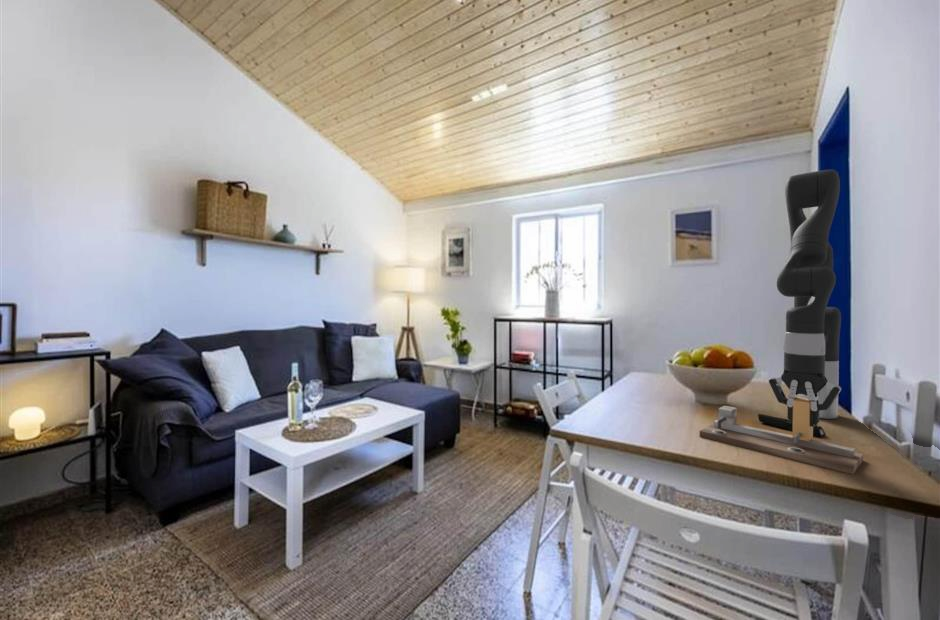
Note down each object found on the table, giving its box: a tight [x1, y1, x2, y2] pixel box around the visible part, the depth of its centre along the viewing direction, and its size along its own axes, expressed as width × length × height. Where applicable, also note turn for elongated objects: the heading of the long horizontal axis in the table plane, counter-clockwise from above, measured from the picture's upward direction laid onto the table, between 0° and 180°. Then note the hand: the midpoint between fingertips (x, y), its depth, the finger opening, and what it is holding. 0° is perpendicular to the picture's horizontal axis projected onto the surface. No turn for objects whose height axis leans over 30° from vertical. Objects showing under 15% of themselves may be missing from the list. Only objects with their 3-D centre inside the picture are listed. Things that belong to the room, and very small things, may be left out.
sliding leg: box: [791, 397, 814, 446], centre depth 96 cm, size 8×3×10 cm, turn 129°
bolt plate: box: [699, 405, 864, 475], centre depth 100 cm, size 11×30×7 cm, turn 39°
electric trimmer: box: [757, 413, 827, 439], centre depth 113 cm, size 4×15×3 cm, turn 31°
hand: (802, 423), depth 97 cm, fingers closed on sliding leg, 3 cm apart
